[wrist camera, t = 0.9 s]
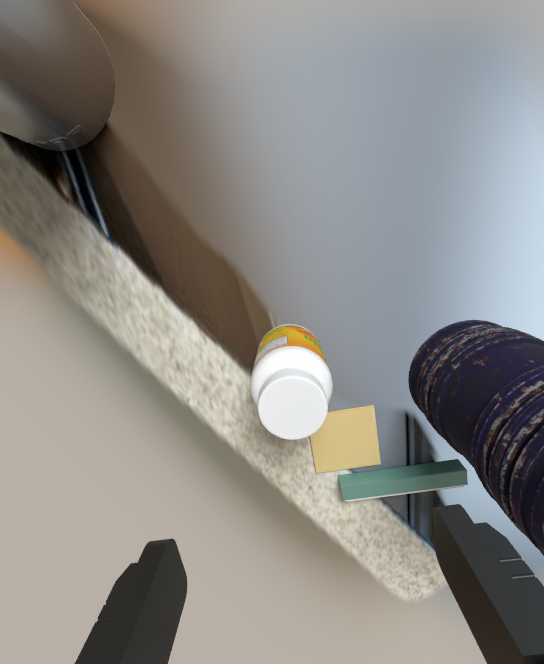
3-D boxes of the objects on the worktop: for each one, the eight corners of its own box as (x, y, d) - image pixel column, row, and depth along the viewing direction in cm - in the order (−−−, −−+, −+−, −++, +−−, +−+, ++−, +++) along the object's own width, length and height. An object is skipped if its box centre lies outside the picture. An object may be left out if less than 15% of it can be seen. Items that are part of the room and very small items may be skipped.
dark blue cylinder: (386, 359, 27) (502, 486, 13) (495, 294, 26) (769, 357, 11) (439, 445, 29) (592, 638, 15) (544, 390, 28) (831, 548, 13)
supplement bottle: (332, 363, 28) (358, 423, 18) (279, 393, 28) (277, 466, 19) (299, 310, 26) (309, 346, 17) (245, 344, 27) (226, 395, 18)
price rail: (338, 475, 30) (341, 486, 29) (457, 459, 30) (466, 470, 28) (340, 491, 31) (343, 503, 29) (458, 475, 30) (467, 487, 29)
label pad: (306, 415, 29) (306, 416, 29) (373, 405, 28) (374, 406, 28) (316, 471, 30) (316, 473, 30) (380, 462, 30) (380, 464, 30)
